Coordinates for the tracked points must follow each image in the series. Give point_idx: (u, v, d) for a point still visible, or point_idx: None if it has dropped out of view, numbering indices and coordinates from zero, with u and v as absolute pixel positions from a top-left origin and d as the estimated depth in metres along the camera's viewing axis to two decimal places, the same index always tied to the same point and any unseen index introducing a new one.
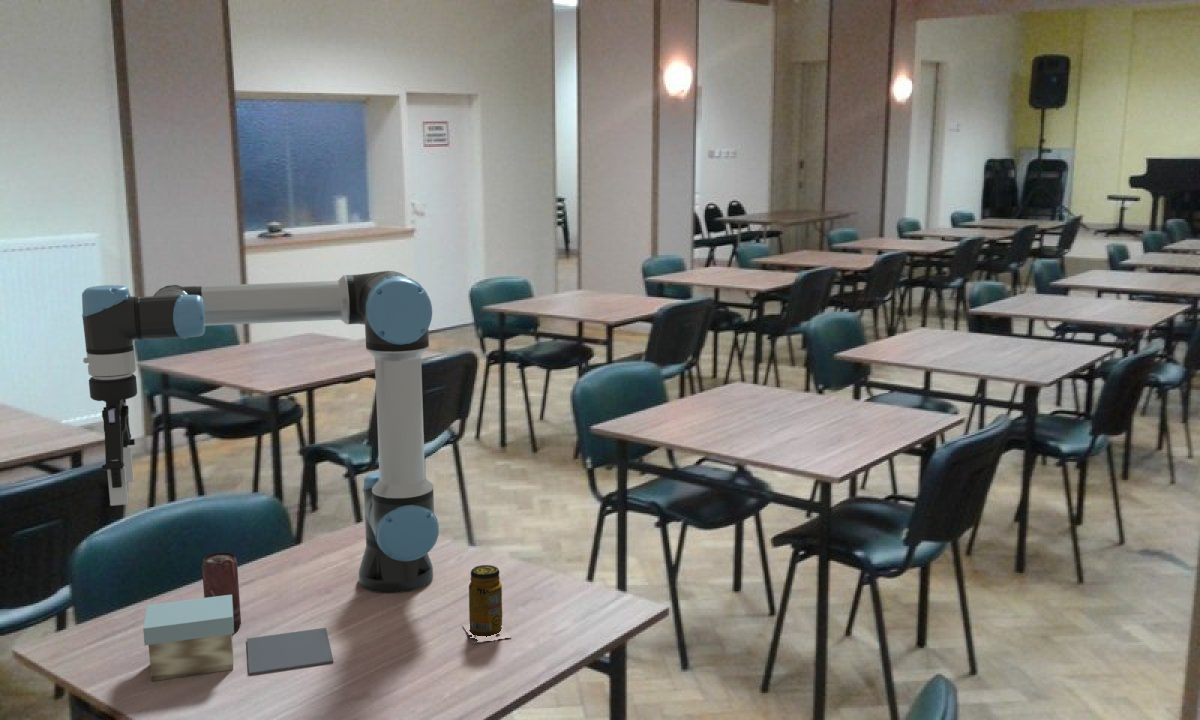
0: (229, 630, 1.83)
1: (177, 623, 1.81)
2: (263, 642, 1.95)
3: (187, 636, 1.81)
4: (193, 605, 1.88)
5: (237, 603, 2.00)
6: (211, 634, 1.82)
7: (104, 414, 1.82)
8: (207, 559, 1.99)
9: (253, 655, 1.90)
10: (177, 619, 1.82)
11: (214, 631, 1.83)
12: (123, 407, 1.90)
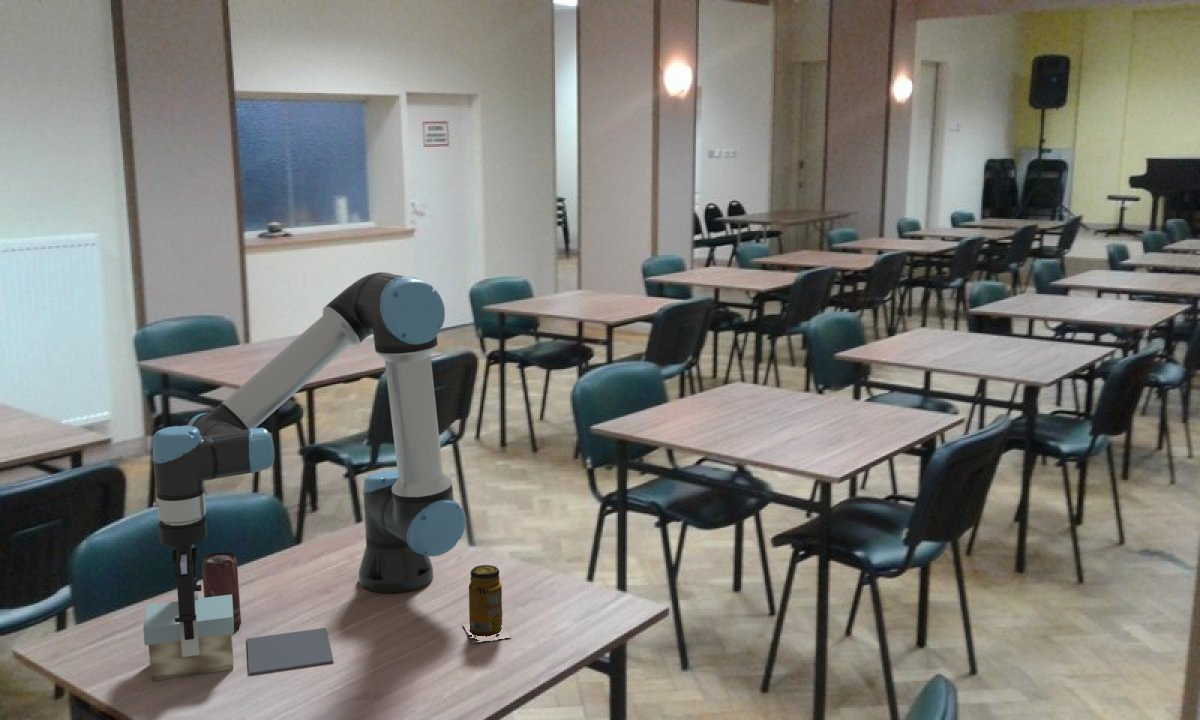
0: (229, 630, 1.83)
1: (177, 623, 1.81)
2: (263, 642, 1.95)
3: None
4: None
5: (237, 603, 2.00)
6: (211, 634, 1.82)
7: (176, 567, 1.77)
8: (207, 559, 1.99)
9: (253, 655, 1.90)
10: None
11: (214, 631, 1.83)
12: (192, 549, 1.85)
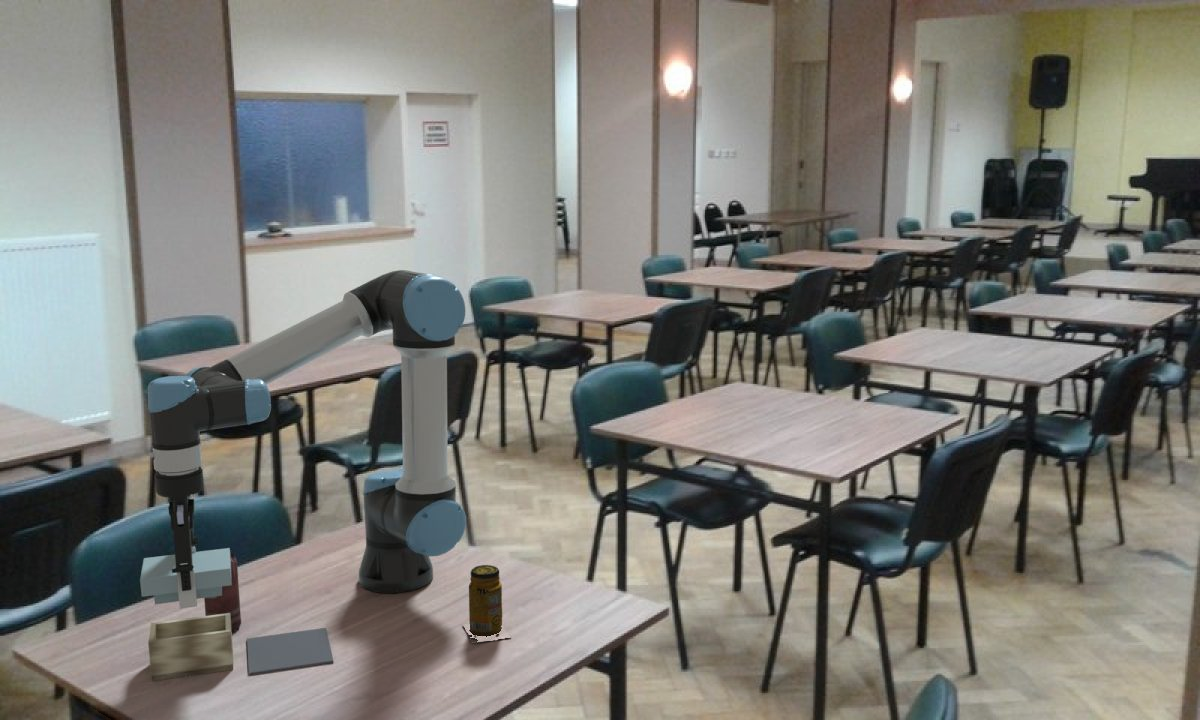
0: (226, 582, 1.82)
1: (174, 574, 1.79)
2: (263, 642, 1.95)
3: None
4: None
5: (237, 603, 2.00)
6: (209, 586, 1.81)
7: (173, 516, 1.75)
8: None
9: (253, 655, 1.90)
10: None
11: (212, 583, 1.81)
12: (189, 500, 1.83)
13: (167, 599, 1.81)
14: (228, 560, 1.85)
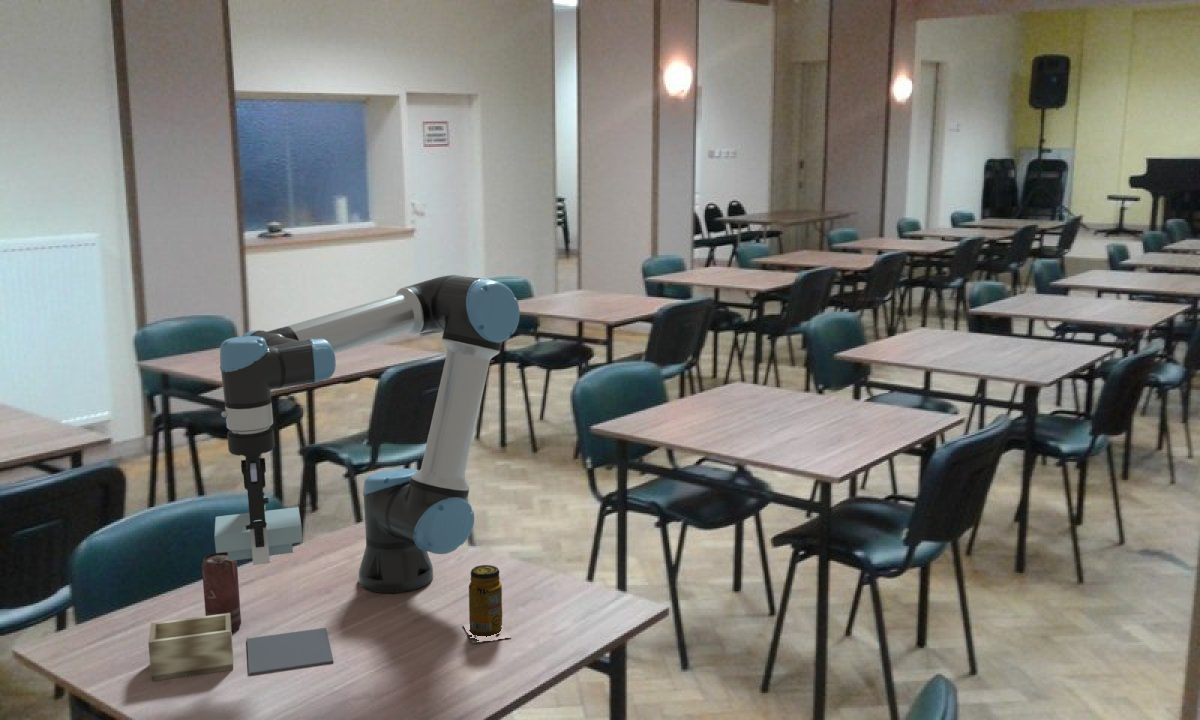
0: (298, 539, 1.85)
1: (247, 531, 1.82)
2: (263, 642, 1.95)
3: None
4: None
5: (237, 603, 2.00)
6: (280, 542, 1.84)
7: (246, 474, 1.78)
8: (207, 559, 1.99)
9: (253, 655, 1.90)
10: None
11: (283, 540, 1.84)
12: (260, 459, 1.86)
13: (240, 556, 1.84)
14: (298, 518, 1.88)
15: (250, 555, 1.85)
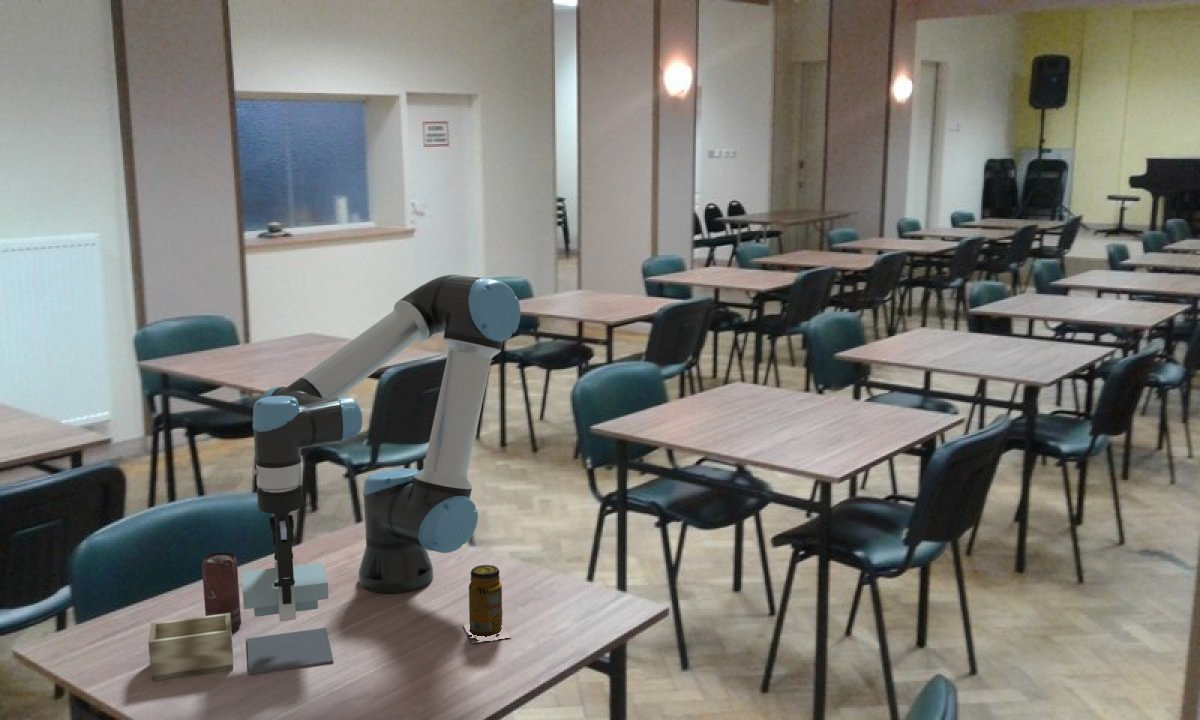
0: (324, 596, 1.88)
1: (275, 588, 1.85)
2: (263, 642, 1.95)
3: None
4: None
5: (237, 603, 2.00)
6: (307, 599, 1.87)
7: (276, 532, 1.81)
8: (207, 559, 1.99)
9: (253, 655, 1.90)
10: None
11: (310, 596, 1.87)
12: (288, 516, 1.89)
13: (266, 612, 1.87)
14: (324, 574, 1.91)
15: (276, 611, 1.88)
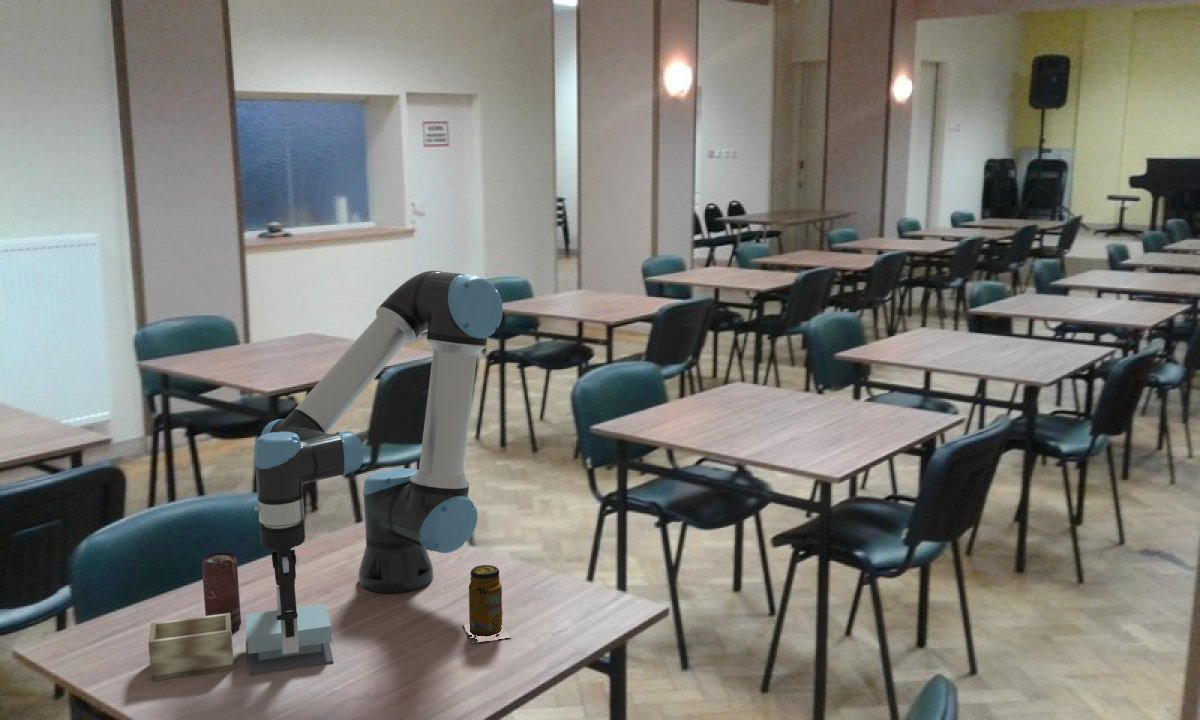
0: (327, 639, 1.89)
1: (278, 632, 1.87)
2: None
3: None
4: None
5: (237, 603, 2.00)
6: (310, 643, 1.88)
7: (279, 565, 1.82)
8: (207, 559, 1.99)
9: (253, 655, 1.90)
10: (277, 628, 1.88)
11: (313, 640, 1.89)
12: (290, 552, 1.90)
13: (270, 655, 1.89)
14: (327, 617, 1.93)
15: (280, 654, 1.89)
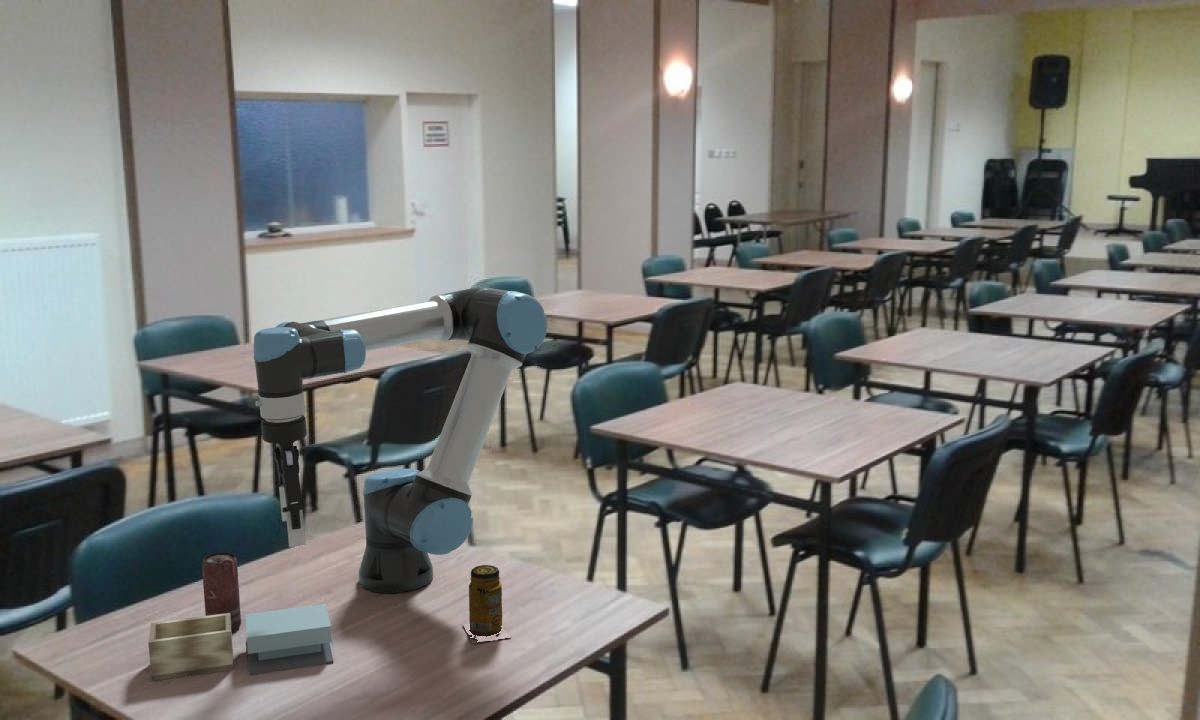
0: (327, 639, 1.89)
1: (278, 632, 1.87)
2: None
3: (288, 644, 1.87)
4: (290, 614, 1.94)
5: (237, 603, 2.00)
6: (310, 643, 1.88)
7: (282, 457, 1.83)
8: (207, 559, 1.99)
9: (253, 655, 1.90)
10: (277, 628, 1.88)
11: (313, 640, 1.89)
12: None
13: (270, 655, 1.89)
14: (327, 617, 1.93)
15: (280, 654, 1.89)
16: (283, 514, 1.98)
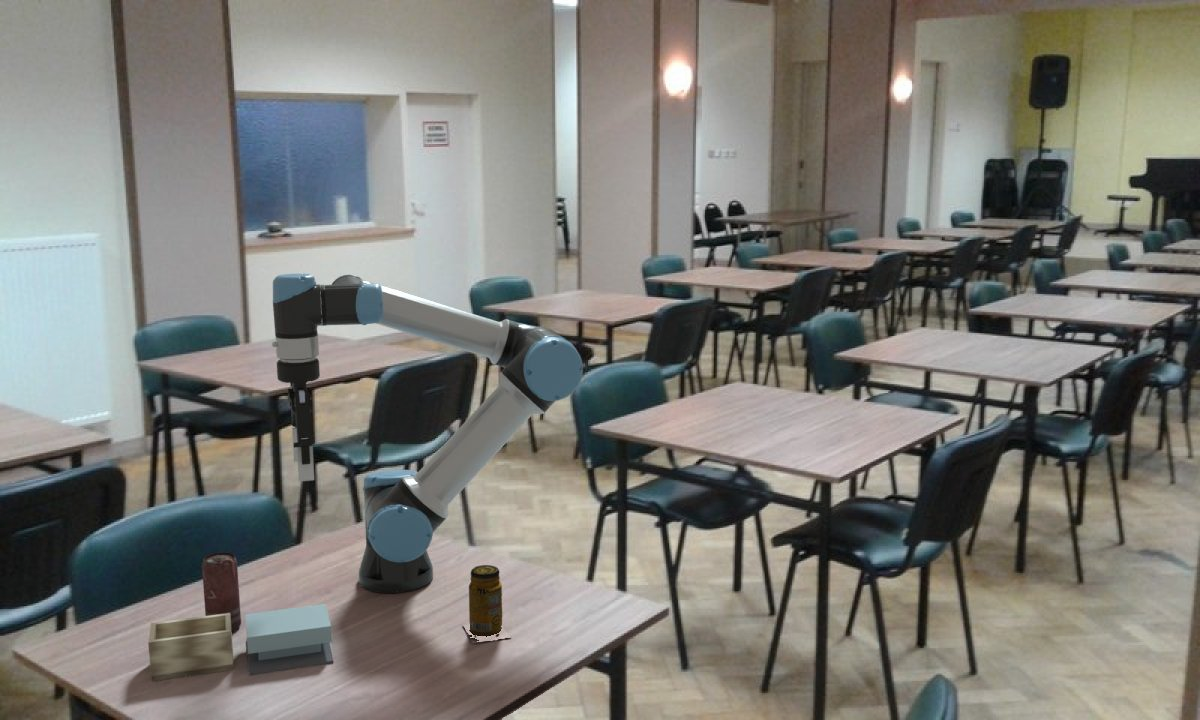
0: (327, 639, 1.89)
1: (278, 632, 1.87)
2: None
3: (288, 644, 1.87)
4: (290, 614, 1.94)
5: (237, 603, 2.00)
6: (310, 643, 1.88)
7: (295, 395, 1.93)
8: (207, 559, 1.99)
9: (253, 655, 1.90)
10: (277, 628, 1.88)
11: (313, 640, 1.89)
12: None
13: (270, 655, 1.89)
14: (327, 617, 1.93)
15: (280, 654, 1.89)
16: (295, 454, 2.08)
